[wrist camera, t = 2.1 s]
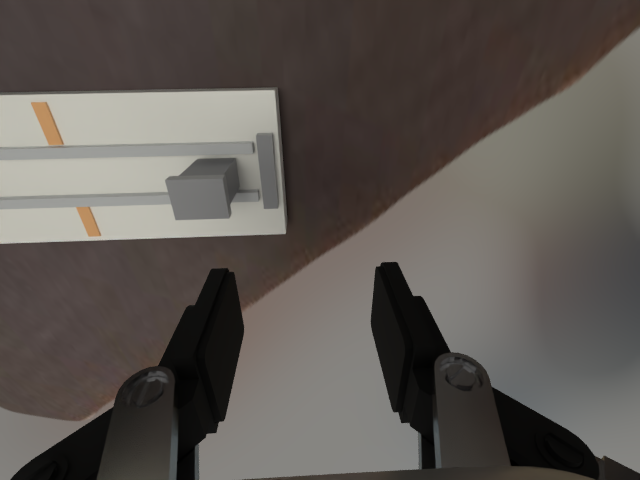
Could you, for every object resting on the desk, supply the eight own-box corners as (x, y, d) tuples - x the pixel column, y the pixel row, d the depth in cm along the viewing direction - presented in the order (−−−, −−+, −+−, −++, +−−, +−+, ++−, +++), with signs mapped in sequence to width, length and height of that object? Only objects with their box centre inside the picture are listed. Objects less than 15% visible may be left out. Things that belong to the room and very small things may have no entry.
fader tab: (239, 155, 25) (222, 178, 20) (243, 188, 26) (229, 218, 21) (193, 156, 25) (164, 180, 20) (200, 189, 26) (175, 220, 21)
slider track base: (277, 87, 26) (273, 91, 22) (287, 219, 31) (285, 239, 28) (-53, 93, 25) (-111, 98, 21) (21, 228, 31) (-15, 249, 27)
